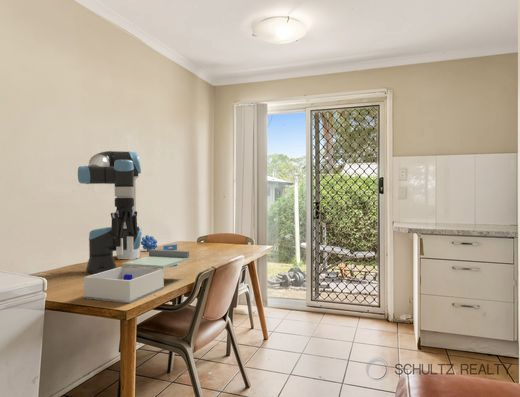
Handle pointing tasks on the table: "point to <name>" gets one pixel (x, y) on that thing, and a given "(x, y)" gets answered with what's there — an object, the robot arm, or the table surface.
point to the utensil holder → (130, 254)
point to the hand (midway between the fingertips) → (125, 253)
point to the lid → (159, 259)
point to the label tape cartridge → (174, 248)
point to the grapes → (149, 243)
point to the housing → (123, 284)
